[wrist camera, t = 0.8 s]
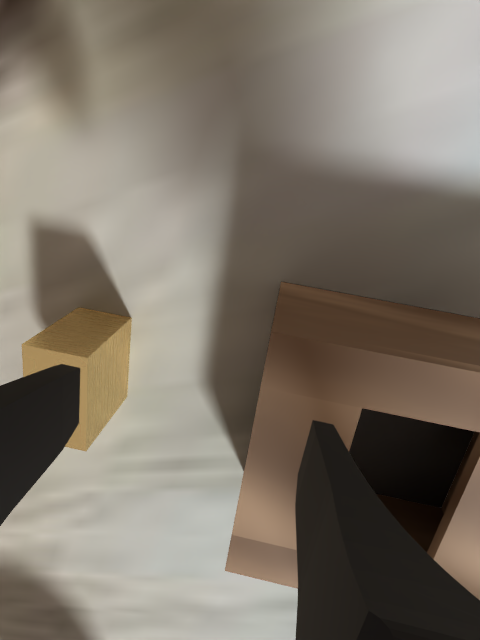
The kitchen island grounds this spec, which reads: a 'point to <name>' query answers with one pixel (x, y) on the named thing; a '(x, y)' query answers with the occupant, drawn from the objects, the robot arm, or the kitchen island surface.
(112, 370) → the wooden block
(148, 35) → the kitchen island surface
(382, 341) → the brown square open block
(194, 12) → the kitchen island surface
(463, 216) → the kitchen island surface
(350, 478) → the robot arm
